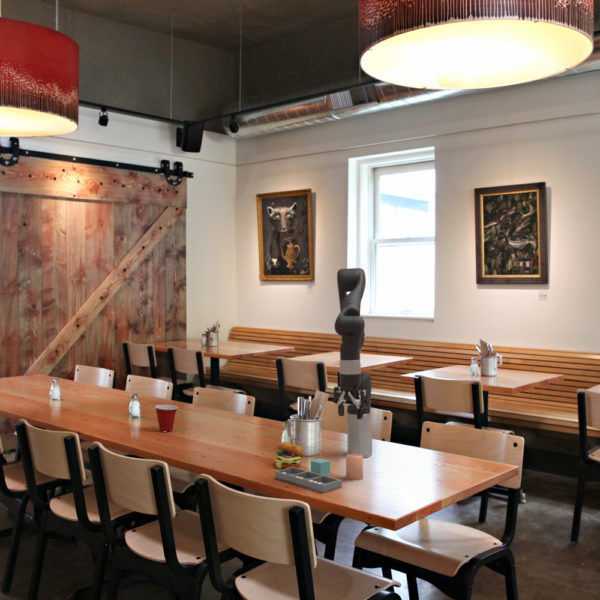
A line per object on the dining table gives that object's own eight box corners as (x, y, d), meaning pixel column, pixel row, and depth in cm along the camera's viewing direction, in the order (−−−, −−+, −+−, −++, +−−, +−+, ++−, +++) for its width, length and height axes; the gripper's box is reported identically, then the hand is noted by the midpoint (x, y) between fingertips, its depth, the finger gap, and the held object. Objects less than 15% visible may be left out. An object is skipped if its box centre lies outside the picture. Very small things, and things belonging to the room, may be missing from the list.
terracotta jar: (353, 474, 249) (353, 452, 249) (366, 478, 245) (366, 455, 245) (342, 478, 245) (342, 455, 245) (355, 481, 241) (355, 458, 241)
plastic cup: (175, 433, 320) (175, 407, 320) (152, 433, 320) (152, 408, 320) (180, 428, 331) (180, 403, 331) (158, 428, 331) (157, 403, 331)
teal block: (320, 471, 254) (320, 458, 254) (330, 474, 250) (330, 460, 250) (310, 474, 250) (310, 460, 250) (320, 477, 247) (320, 463, 247)
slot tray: (292, 473, 251) (292, 466, 251) (341, 487, 234) (341, 479, 234) (274, 478, 245) (274, 470, 245) (323, 493, 228) (323, 485, 228)
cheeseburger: (267, 466, 262) (271, 439, 263) (287, 467, 269) (291, 441, 271) (285, 470, 254) (290, 443, 256) (305, 472, 262) (309, 445, 263)
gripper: (372, 372, 242) (372, 418, 243) (342, 369, 253) (342, 413, 253) (358, 374, 237) (358, 421, 238) (328, 371, 247) (328, 416, 248)
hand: (350, 417), depth 245 cm, fingers open, 8 cm apart
